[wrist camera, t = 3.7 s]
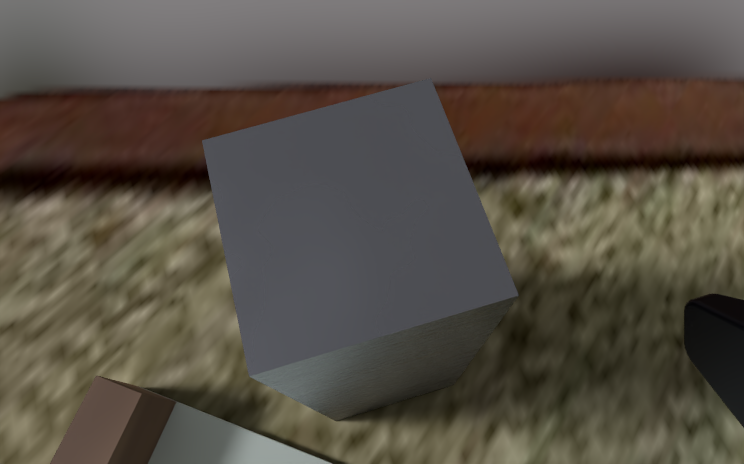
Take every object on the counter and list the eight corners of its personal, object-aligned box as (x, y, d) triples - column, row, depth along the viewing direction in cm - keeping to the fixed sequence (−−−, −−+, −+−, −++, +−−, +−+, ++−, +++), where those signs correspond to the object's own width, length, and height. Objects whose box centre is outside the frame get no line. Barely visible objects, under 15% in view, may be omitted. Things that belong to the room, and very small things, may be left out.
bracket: (453, 384, 18) (518, 295, 8) (336, 420, 18) (249, 376, 8) (377, 160, 21) (355, -108, 11) (277, 188, 21) (162, -59, 11)
